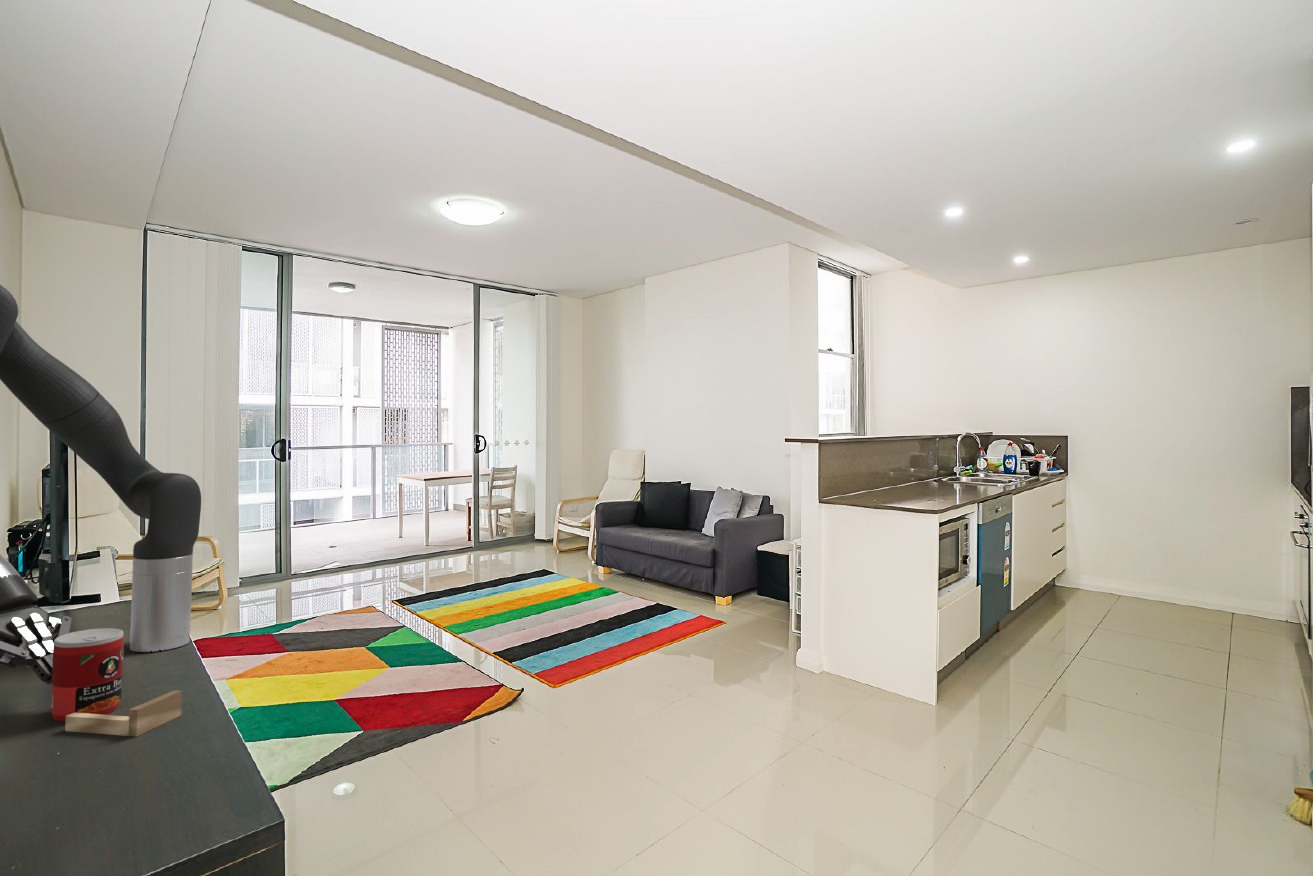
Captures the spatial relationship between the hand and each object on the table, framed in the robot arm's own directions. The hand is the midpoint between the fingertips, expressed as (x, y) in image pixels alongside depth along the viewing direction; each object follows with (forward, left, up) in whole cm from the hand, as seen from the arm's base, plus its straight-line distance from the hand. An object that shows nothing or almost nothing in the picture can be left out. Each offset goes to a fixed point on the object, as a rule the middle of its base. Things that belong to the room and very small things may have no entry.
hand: (58, 679), depth 94 cm
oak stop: (+14, +3, -4) cm, 15 cm away
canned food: (+4, +2, -5) cm, 7 cm away
